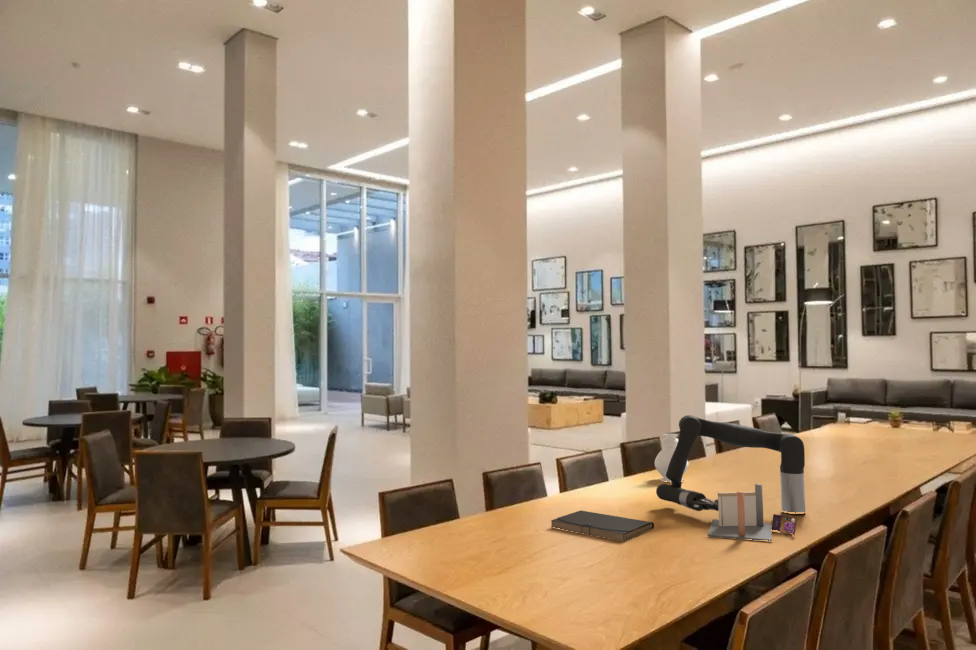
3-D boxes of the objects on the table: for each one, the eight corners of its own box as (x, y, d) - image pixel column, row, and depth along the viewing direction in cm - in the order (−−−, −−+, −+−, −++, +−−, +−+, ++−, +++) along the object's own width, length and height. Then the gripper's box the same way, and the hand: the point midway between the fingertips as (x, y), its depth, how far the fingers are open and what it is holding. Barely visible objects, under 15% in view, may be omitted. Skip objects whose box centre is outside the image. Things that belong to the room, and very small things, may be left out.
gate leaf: (754, 524, 254) (753, 491, 255) (756, 525, 252) (755, 492, 253) (718, 525, 254) (717, 492, 254) (720, 526, 252) (719, 493, 252)
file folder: (550, 519, 259) (583, 508, 278) (550, 529, 259) (583, 518, 277) (623, 532, 238) (653, 520, 256) (624, 544, 238) (654, 530, 256)
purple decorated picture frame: (772, 513, 250) (795, 518, 242) (779, 516, 252) (802, 520, 245) (769, 531, 248) (792, 536, 241) (777, 533, 251) (799, 538, 243)
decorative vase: (692, 479, 354) (691, 433, 356) (683, 485, 339) (682, 437, 341) (660, 476, 364) (659, 431, 365) (650, 482, 349) (649, 435, 350)
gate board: (712, 521, 265) (711, 479, 266) (771, 526, 256) (769, 482, 257) (707, 536, 243) (706, 491, 244) (771, 542, 234) (769, 495, 235)
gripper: (679, 492, 271) (707, 500, 255) (704, 489, 276) (734, 497, 260) (680, 510, 271) (708, 520, 255) (705, 507, 276) (734, 516, 260)
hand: (721, 508), depth 258 cm, fingers closed
